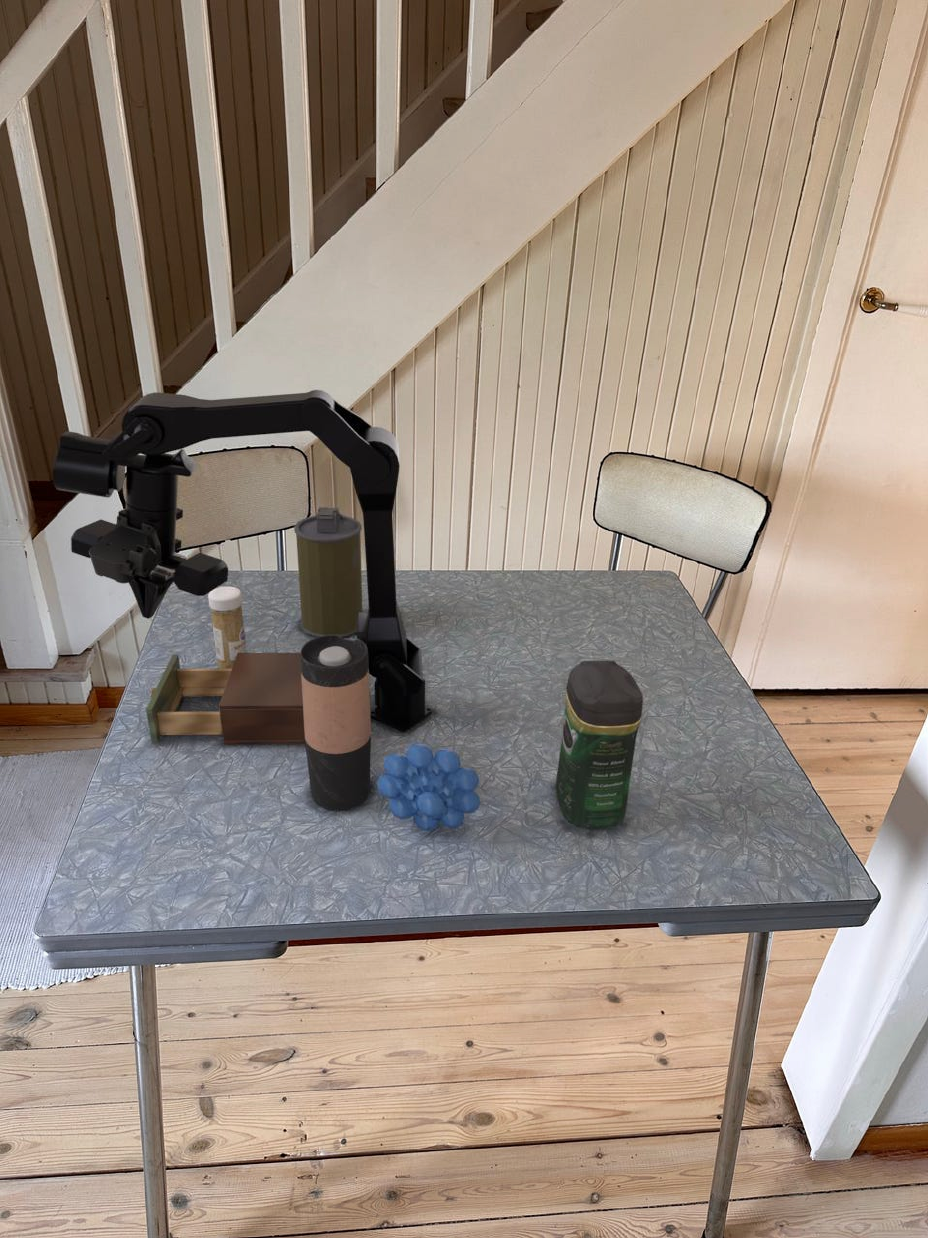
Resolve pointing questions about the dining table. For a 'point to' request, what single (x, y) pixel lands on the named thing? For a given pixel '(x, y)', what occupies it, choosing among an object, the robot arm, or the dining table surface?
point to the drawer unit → (263, 700)
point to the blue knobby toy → (429, 787)
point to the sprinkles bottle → (227, 625)
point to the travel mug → (337, 720)
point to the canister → (329, 573)
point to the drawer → (170, 695)
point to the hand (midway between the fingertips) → (148, 616)
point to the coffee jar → (598, 744)
